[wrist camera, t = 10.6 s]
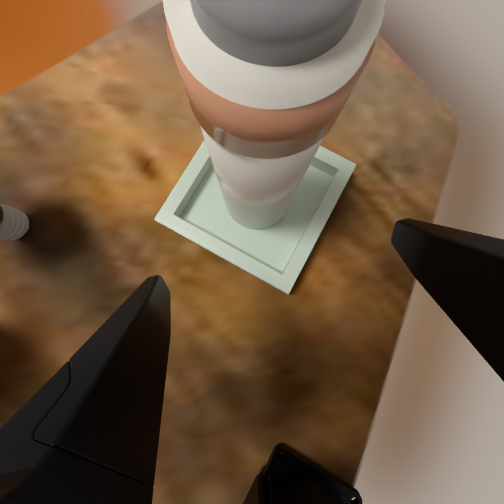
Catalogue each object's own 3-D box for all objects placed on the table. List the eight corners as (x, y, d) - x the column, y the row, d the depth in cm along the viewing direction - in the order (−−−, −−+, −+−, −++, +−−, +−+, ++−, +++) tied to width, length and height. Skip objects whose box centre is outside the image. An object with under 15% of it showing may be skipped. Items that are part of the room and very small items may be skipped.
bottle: (299, 182, 18) (459, -132, 4) (273, 241, 18) (363, 94, 4) (240, 157, 18) (212, -218, 5) (212, 214, 18) (82, -20, 4)
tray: (347, 174, 19) (356, 164, 17) (285, 293, 17) (288, 294, 16) (231, 114, 19) (229, 99, 18) (162, 225, 18) (154, 219, 17)
